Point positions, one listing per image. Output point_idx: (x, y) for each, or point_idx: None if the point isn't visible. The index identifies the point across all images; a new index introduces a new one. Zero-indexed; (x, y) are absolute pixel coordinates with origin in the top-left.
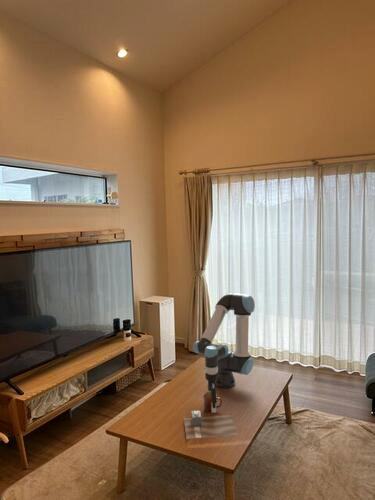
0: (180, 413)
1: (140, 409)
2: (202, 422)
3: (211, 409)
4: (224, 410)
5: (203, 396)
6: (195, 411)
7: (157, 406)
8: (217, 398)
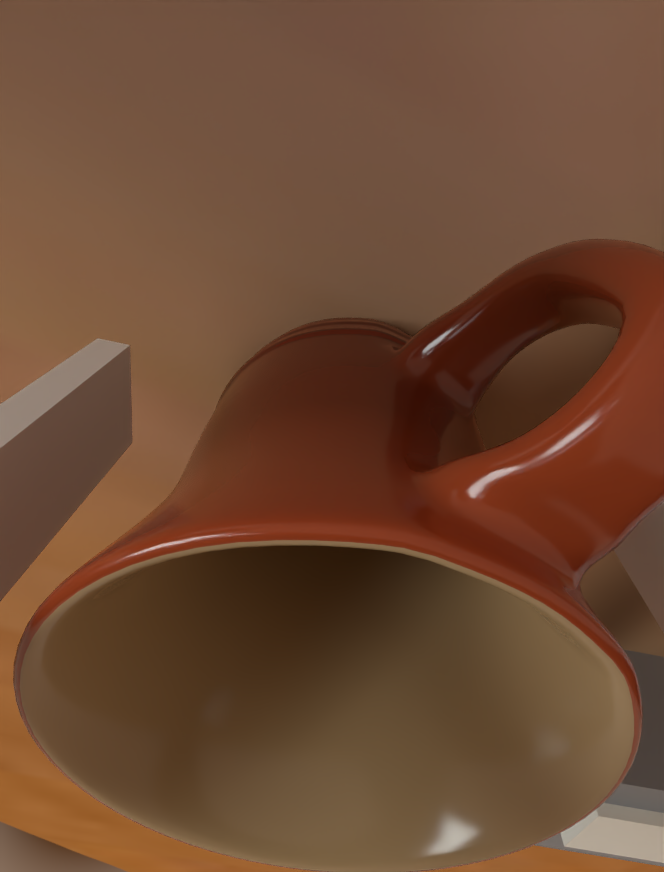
0: None
1: (125, 861)
2: (648, 638)
3: (635, 585)
4: (421, 85)
5: (258, 805)
6: (596, 838)
7: (87, 796)
8: (624, 535)
